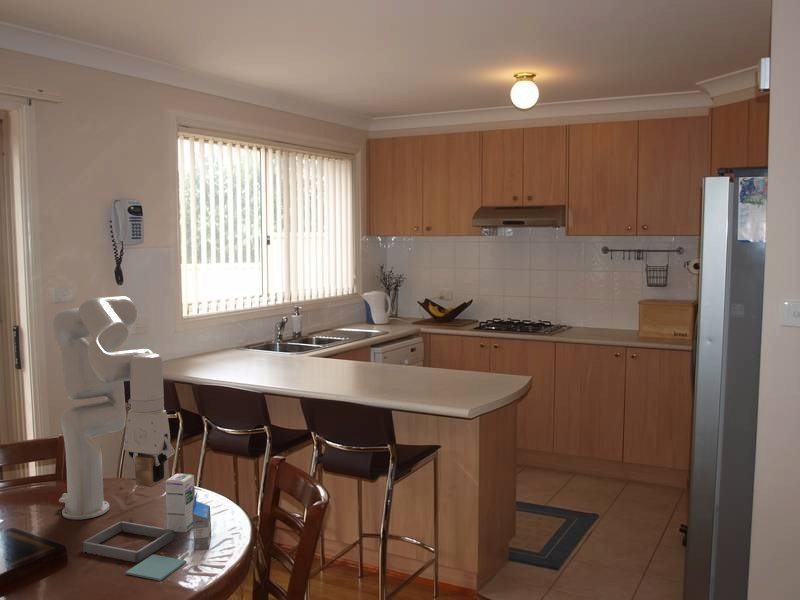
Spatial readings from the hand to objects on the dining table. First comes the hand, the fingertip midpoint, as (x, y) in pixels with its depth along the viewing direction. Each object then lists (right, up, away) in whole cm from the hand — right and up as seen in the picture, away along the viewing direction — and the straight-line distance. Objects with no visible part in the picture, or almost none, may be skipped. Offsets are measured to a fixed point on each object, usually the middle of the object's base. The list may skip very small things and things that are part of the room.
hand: (149, 478), depth 175 cm
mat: (+1, -22, 0) cm, 22 cm away
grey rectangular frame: (-10, -21, +13) cm, 26 cm away
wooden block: (0, -1, 0) cm, 1 cm away
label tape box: (+9, -21, +15) cm, 27 cm away
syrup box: (0, -20, +24) cm, 31 cm away
